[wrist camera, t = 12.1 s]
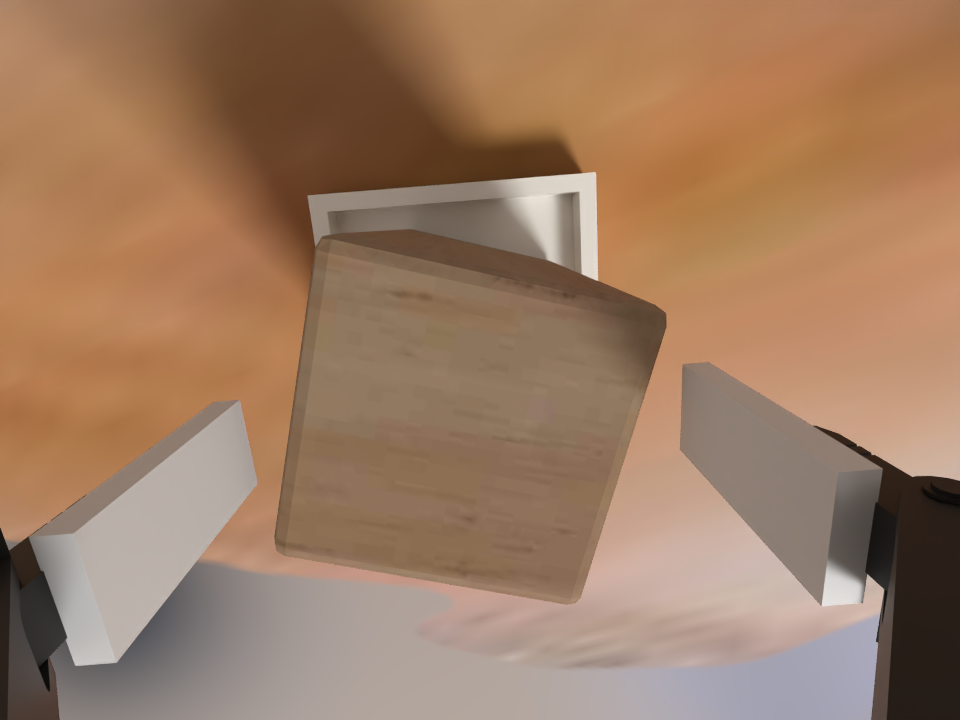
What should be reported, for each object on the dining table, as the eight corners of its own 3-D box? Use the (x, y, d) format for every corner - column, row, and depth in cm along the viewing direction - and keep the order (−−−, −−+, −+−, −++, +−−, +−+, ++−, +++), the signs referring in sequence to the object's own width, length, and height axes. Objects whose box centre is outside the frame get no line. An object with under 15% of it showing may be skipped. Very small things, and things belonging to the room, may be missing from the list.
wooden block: (519, 404, 36) (581, 614, 16) (376, 375, 35) (266, 559, 16) (555, 261, 33) (678, 311, 14) (403, 227, 33) (312, 229, 13)
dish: (321, 198, 33) (307, 195, 30) (584, 176, 33) (595, 172, 30) (357, 442, 37) (348, 460, 34) (590, 423, 37) (601, 439, 35)
